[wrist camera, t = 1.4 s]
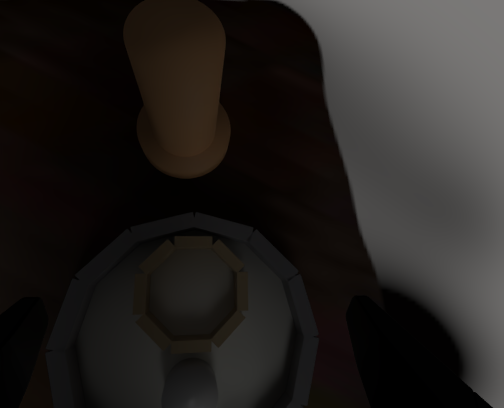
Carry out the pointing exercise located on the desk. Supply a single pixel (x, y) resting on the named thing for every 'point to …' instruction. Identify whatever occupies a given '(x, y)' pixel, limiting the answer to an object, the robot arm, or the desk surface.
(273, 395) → the carrier plate
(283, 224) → the desk surface
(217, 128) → the brown waisted peg
